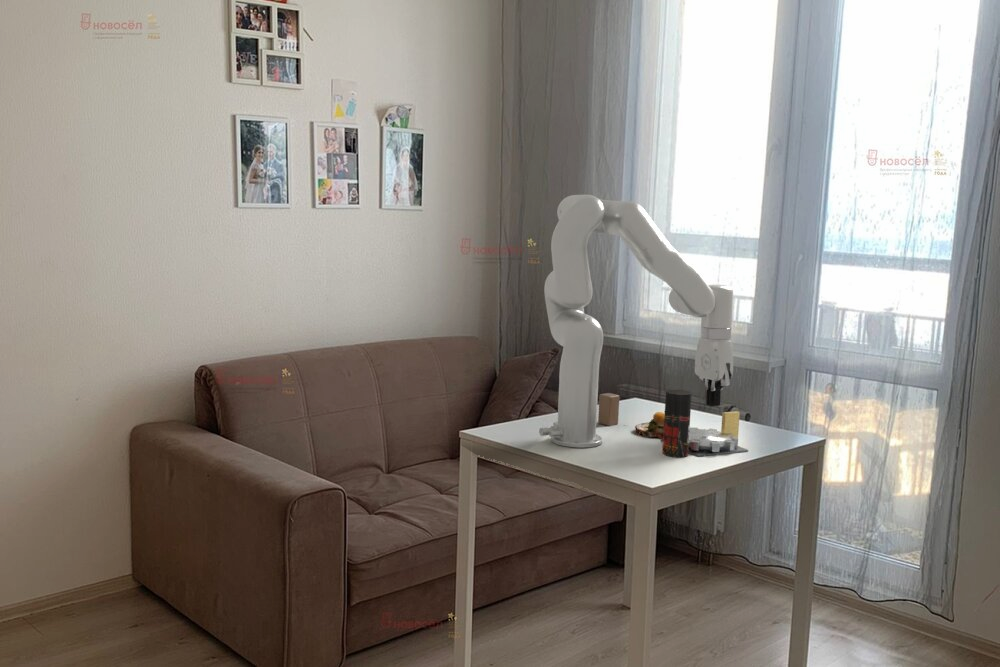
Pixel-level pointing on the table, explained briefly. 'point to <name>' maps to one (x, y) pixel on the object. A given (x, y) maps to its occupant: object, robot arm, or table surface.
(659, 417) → the burger
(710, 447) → the sprocket
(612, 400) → the wooden block
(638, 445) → the table surface
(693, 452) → the plate
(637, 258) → the robot arm
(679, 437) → the deodorant
